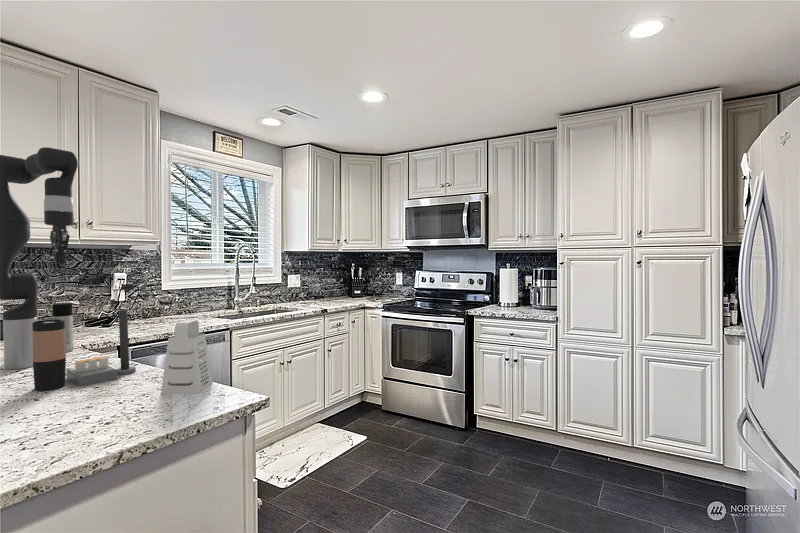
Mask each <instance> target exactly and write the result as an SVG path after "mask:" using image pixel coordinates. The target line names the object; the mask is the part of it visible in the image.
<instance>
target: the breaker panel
mask: <svg viewBox="0 0 800 533" xmlns="http://www.w3.org/2000/svg"><path fill="white" fill-rule="evenodd" d="M116 369H117V368H114V367H112V366H110V365H107V367H104V368H99V367H98V363H97V369H93V370H88V369H87V365H86V368H85V371H81V372H76V367H71V368H66V379H67V380H69V381H70V382H71V383H73V384H74V385H76V386H78V387H83V386H90V385H96V384H100V383H105V382H106V383H107V382H110V381H115V380H118V375H117V370H116Z"/></svg>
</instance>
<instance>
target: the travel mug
mask: <svg viewBox="0 0 800 533" xmlns="http://www.w3.org/2000/svg"><path fill="white" fill-rule="evenodd" d="M32 326H33V366H32V369H33V384H34V385H33V386H34V391H35V392H49V391H55V390H59V389H61V388H64V387H65V386H66V376H67V373H66V369H67V368H66V367H67V366H66V363H67V355H66V354H67V352H66V347H65V320H64V321H61V320H59V319H56V320H52V319H44V320H37V321H36V322H33V324H32Z"/></svg>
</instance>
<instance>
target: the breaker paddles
mask: <svg viewBox="0 0 800 533" xmlns="http://www.w3.org/2000/svg"><path fill="white" fill-rule="evenodd" d="M108 362H109V357H108V356H101V357H100V356H99V357H94V358H92V357H91V358H87V359H80V360H76V361H75V368H76V372H81V371H85V368H86V366H87V369H88V370H93V369H97V364H98V367H99V368H104V367H107V365H108ZM108 366H109V365H108Z"/></svg>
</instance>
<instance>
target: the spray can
mask: <svg viewBox="0 0 800 533" xmlns="http://www.w3.org/2000/svg"><path fill="white" fill-rule="evenodd" d="M51 311H52V312H51V314H52V315H51V320H56V319H59V320H61V321H64V320H65V347H66V353H69V352H73V351H74V322H73V320H74V319H73V316H74V315H73V303H72V302H57V303H52V306H51Z"/></svg>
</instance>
